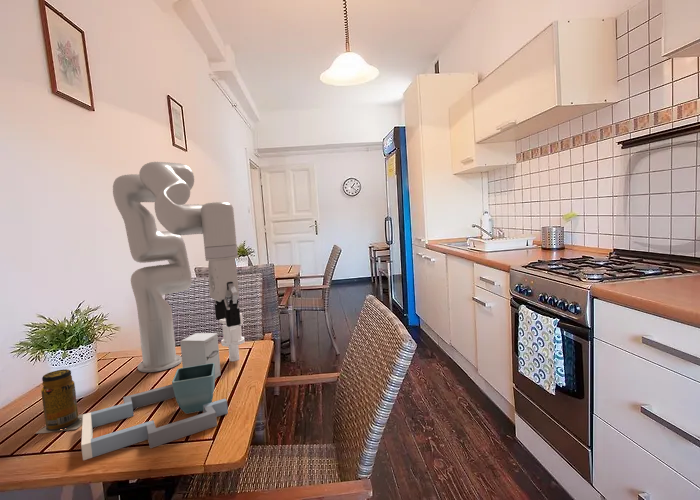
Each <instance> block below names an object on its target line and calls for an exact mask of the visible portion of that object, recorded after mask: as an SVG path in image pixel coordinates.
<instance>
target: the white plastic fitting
mask: <svg viewBox="0 0 700 500" xmlns="http://www.w3.org/2000/svg"><path fill="white" fill-rule="evenodd" d="M243 319H244V318H243V313H242V312H240V321H241V324H240V325H236V326H231V327H227V325H226V318H225V319H220V320H218V321H219V324H222V333H223V334H222V335H223V339H221V346H222V347H226V348H227V347H228V358H229V359H228V360H229V362H237V361H239V360H240V348H239V346H240V345H242V344H244V343H245V337H244V336H242V334H243V333H242V325H244V322H243V321H244V320H243Z"/></svg>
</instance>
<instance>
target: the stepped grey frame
mask: <svg viewBox="0 0 700 500" xmlns="http://www.w3.org/2000/svg"><path fill="white" fill-rule="evenodd" d="M173 398H176V397H175V393H174V389H173V385H172V384H167V385H164V386H161V387H156V388H153V389H149V390H145V391H141V392H138V393H134V394H129V395H126V396H123V403H120V404H116V405H112V406H109V407H106V408H102V409H98V410H94V411H90V412H87V413H84V414H83V423H82V425H81V427H82V428H81V429H82V430H81V443H80V447H81V454H82V461H86V460H89V459H92V458H96V457H99V456H101V455H104V454H107V453H111V452H114V451H116V450H119V449H122V448H126V447H129V446H131V445H136V444H137V443H138V444H139V443H140V442H144V441H146V440H147V442H148V445H149V448H150V449H152V448H156V447H159V446H161V445H165V444H168V443H170V442H174V441H176V440H179V439H182V438H185V437H187V436H188V437H189V436H191V435H193V434H197V433H201V432H202V431H207V430H209V429H211V428H214V427H218V421H217V420H218V419H217V417H220V416H224V415H226V414H227V415H228V414H229V410H228V408H229V407H228V400H227V399H226V398H222V399H218V400H216V401H215V400H214V401H212V402H211V403H208V404H205V405H203V411H202V412H203V413H199V414H196V415H193V416H190V417H187V418H184V419H180V420H177V421H174V422H170V423H168V424H165V425H161V426H158V427H156V424H155V423H156V422H155V421H154V419H153V420H150V421H146V422H142V423H139V424H137V425H132V426H130V427H127V428H124V429H119V430H117V431H113V432H110V433H107V434H103V435H100V436H97V437H93V435H94V434H93V432H94V430H93V428H97V427H100V426H104V425H107V424H110V423H114V422H118V421H121V420H124V419H128V418H131V417H134V416H135V415H134V410H135V409H139V408H142V407H145V406H149V405H152V404H156V403H160V402H164V401H168V400H171V399H173Z"/></svg>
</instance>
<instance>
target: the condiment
mask: <svg viewBox="0 0 700 500" xmlns="http://www.w3.org/2000/svg"><path fill="white" fill-rule="evenodd" d="M41 381H42V386H43V387H42V389H41V400H42V409H43V416H44V417H43V418H44V425H45V426H43V427H42V428H41V429H39V430H38V431H37V432H35V434H36V435H37V434H45V433H49V434H50V433H55V432H56V433H57V432H60V431H61V432H64V431H69V430H78V428H80V427H82V423H83V414H79V411H78V402H77V395H76V393H77V392H76V385H75V381H74V380H73V375H72V370H70V369H68V368H67V369H59V370H53V371H51V372H47V373H46V374H44V375H43V376H42V378H41ZM65 428H67V429H65ZM60 429H63V430H60Z"/></svg>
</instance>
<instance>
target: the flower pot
mask: <svg viewBox="0 0 700 500" xmlns="http://www.w3.org/2000/svg"><path fill="white" fill-rule="evenodd" d="M171 383H172V385H173V389H174V393H175V397H174V398H175V401H176V403H177V405H178V407H179V408H180V409H181V411H182V412H184V413H185V414H186V415H187V414H193V413H199V412H203V405H205V404H208V403H211V402H213V399H214V391H215V385H216V384H215V383H216V379H215V363H209V364H203V365H197V366H191V367H185V368H183V367H180V368H177V369H176V371H175V375H174V376H173V379H172V380H171Z"/></svg>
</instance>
